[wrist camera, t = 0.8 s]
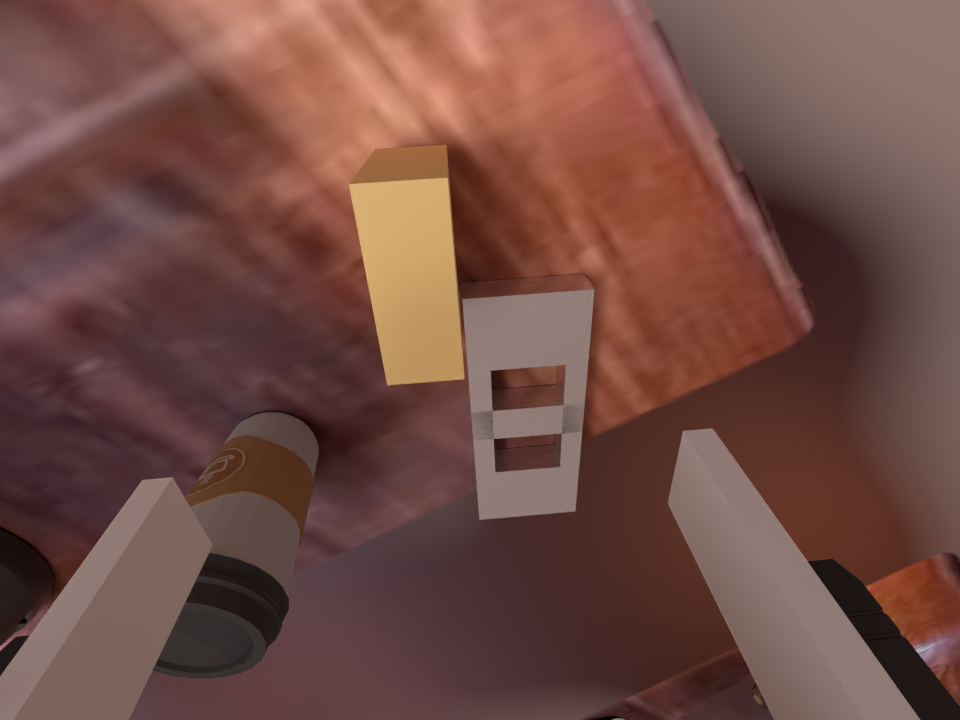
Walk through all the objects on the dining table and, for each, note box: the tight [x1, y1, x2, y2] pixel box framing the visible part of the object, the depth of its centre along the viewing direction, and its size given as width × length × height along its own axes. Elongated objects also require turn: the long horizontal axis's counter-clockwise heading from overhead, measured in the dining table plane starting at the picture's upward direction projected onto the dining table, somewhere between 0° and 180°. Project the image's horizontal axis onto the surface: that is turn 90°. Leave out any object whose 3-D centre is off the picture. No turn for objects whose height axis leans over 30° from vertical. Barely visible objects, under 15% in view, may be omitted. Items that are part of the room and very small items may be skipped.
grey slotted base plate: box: [461, 274, 595, 520], centre depth 35 cm, size 20×8×2 cm, turn 3°
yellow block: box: [349, 145, 464, 385], centre depth 24 cm, size 9×4×10 cm, turn 3°
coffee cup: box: [153, 412, 319, 678], centre depth 30 cm, size 8×8×15 cm
